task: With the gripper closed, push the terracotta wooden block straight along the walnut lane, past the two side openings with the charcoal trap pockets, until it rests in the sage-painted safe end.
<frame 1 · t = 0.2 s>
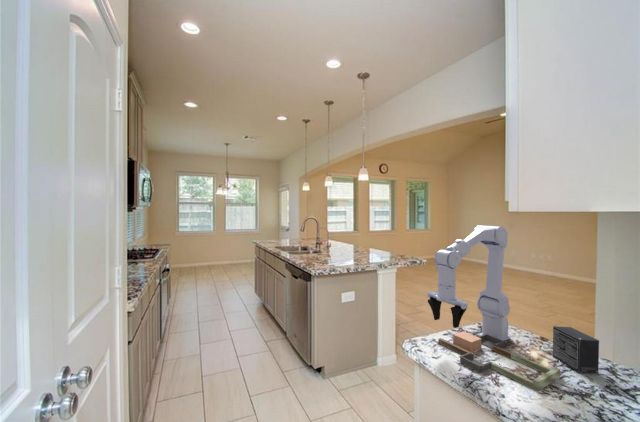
hand: (446, 323, 100), 10 cm above the counter, tool pointing down, fingers open, 7 cm apart
block: (467, 347, 103), on the counter
small box: (574, 365, 92), on the counter
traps: (489, 356, 96), on the counter
lane: (489, 356, 96), on the counter
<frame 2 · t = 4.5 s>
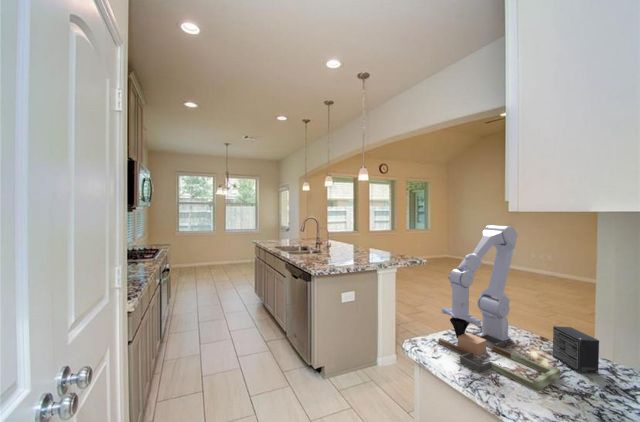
hand: (459, 338, 106), 2 cm above the counter, tool pointing down, fingers closed
block: (471, 349, 102), on the counter, touching gripper
everything else where it was.
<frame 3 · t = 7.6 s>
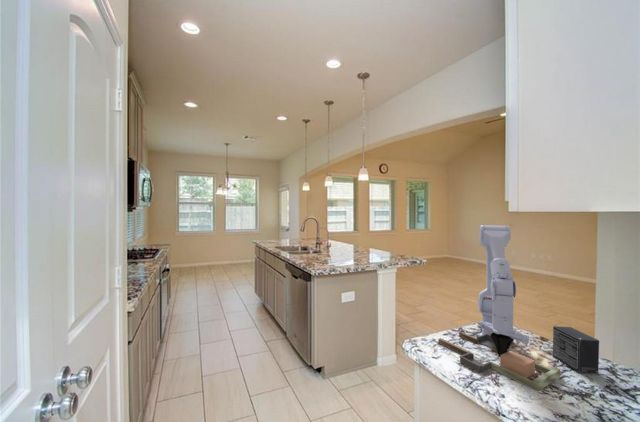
hand: (502, 356, 93), 2 cm above the counter, tool pointing down, fingers closed
block: (517, 370, 88), on the counter
everything else where it was.
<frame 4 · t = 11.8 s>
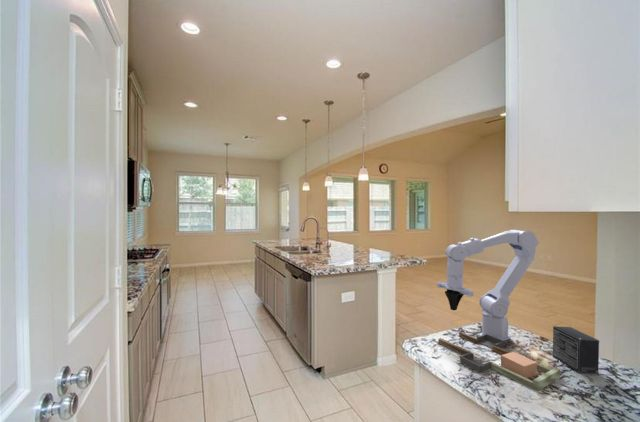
hand: (453, 309, 112), 10 cm above the counter, tool pointing down, fingers closed
nothing on the counter moved.
at the end: block inside the target area (0.5 cm from its centre), on the counter; block tilted 0°; block touching counter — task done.
